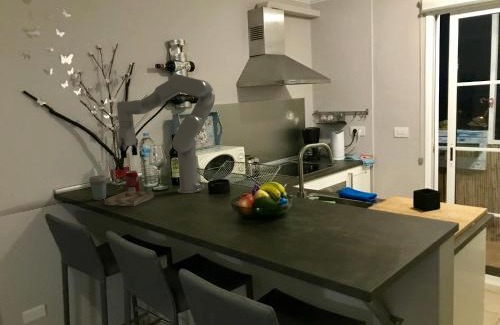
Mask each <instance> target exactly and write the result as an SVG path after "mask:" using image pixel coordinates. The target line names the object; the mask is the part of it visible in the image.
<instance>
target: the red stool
mask: <svg viewBox="0 0 500 325" xmlns="http://www.w3.org/2000/svg"><path fill="white" fill-rule="evenodd" d="M124 178H125V186H126V192H141V190H140V179H139V173H138V172H137V170H128V171H126V172H125V176H124Z"/></svg>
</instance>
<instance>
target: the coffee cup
mask: <svg viewBox="0 0 500 325" xmlns="http://www.w3.org/2000/svg"><path fill="white" fill-rule="evenodd" d="M88 182H89V184H90V188H91V192H92V196H93V200H94V201H95V200H100V201H103V200H102V199H105V198H106V199H107V177H106V175H102V174H101V175H94V176H91V177H89V181H88Z"/></svg>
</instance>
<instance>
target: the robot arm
mask: <svg viewBox="0 0 500 325" xmlns="http://www.w3.org/2000/svg"><path fill="white" fill-rule="evenodd" d="M179 94H184V95H185V94H186V95H189V96H193V97H197V98H198V99H197V101H196V103H195V105H194V107H193V109H192V111H191V113H190V114H188V115H186V116H184V118H183V119H182V121H181V122H180V125H179V127H178V128H177V130H176V133H175V134H174V135H173V139H172V143H171V144H172V148H173V150H175V152H177V165H178V177H179V178H178V179H179V188H178V189H177V193H179V194H194V193H198V192H200V191H201V190H202V189H205V183H202V184H201V183H200V181H198V171H197V170H198V168H197V154H196V151H197V148H196V145H197V143H196V137H197V135H198V133H199V132H200V131H201V130H203V127H204V124H205V123H206V121H207V119H208V117H209V114H210V113H211V110H212V109H213V107H214V104H215V98H216V94H215V90H214V88H213V87H212V85H211V84H210V83H209V82H208V81H206V80H204V79H203V80H202V79H198V78H194V77H190V76H186V75H183V74H179V73H175V74H172V75H170V77H169V78H168V80H167V81H165V82H163V83H161V84H160V85H158V86H156V87H155V89H154V91H153V92H152V93H150V94H149V95H147V96H146V97H144V98H142V99H135V100H129V101H127V100H125V101H124V100H123V101H118V102H117V103H116V110H117V111H116V112H117V119H118V120H117V121H118V127H119V128H118V131H117V135H118V136H117V137H118V138H117V139H118V142H116V144H117V147H118V149H119V151H120V158H121V159H127V158H128V156H127V150H126V149H127V147H131V155H132V156H138V155H139V154H138V145H139V139H138V138H137V135H136V130H135V125H134V115H139V116H140V115H144V114H147V113H149V112H150V111H152V110H154V109H156V108H158V107H159V106H161V105H163V104H164V103H165V102H167V101H169V100H170V99H172V98H174V97H175V96H177V95H179Z"/></svg>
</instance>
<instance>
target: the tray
mask: <svg viewBox="0 0 500 325" xmlns="http://www.w3.org/2000/svg"><path fill="white" fill-rule="evenodd" d="M154 198H155V195H154V191H140V192H127V191H123V192H121V193H118V194H115V195H113V196H110V197H106V199H104V200H103V201H104V206H123V207H124V206H125V207H126V206H127V207H136V206H137V205H140V204H142V203H144V202H147V201H149V200H151V199H154Z"/></svg>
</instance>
